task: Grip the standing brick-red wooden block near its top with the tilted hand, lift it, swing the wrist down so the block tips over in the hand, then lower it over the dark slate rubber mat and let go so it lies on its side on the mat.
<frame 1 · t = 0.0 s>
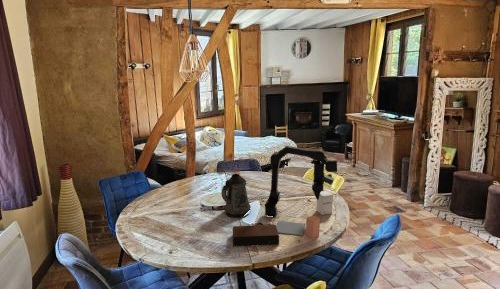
hand: (318, 196, 196), 15 cm above the table, tool pointing down, fingers open, 9 cm apart
supplement box: (324, 212, 210), on the table
beer stein: (236, 213, 210), on the table
rubber mat: (289, 228, 189), on the table
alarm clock: (255, 241, 177), on the table
brick-red block: (312, 235, 181), on the table
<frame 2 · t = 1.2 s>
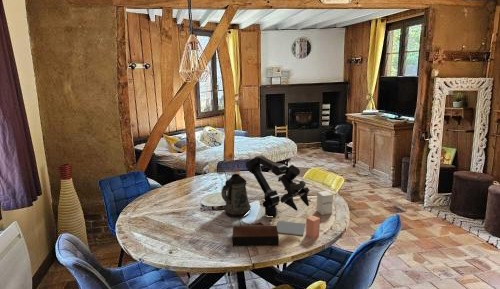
hand: (302, 208, 184), 13 cm above the table, tool tilted 45°, fingers open, 9 cm apart
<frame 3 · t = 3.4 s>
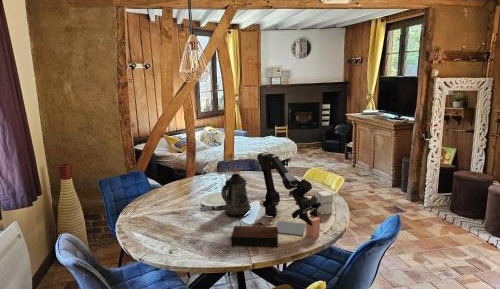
hand: (315, 224, 178), 7 cm above the table, tool tilted 45°, fingers closed on brick-red block, 5 cm apart
brick-red block: (312, 235, 181), on the table, touching gripper
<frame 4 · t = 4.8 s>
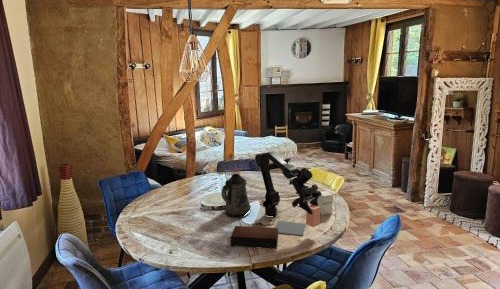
hand: (315, 212, 177), 13 cm above the table, tool tilted 45°, fingers closed on brick-red block, 5 cm apart
brick-red block: (312, 224, 180), point 6 cm above the table, touching gripper
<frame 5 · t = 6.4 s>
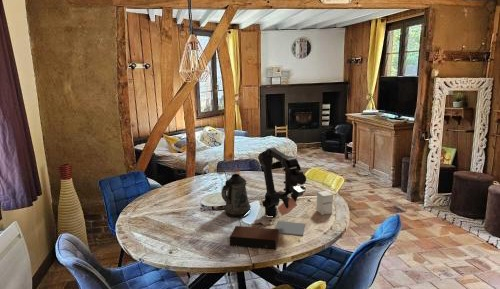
hand: (290, 206, 187), 13 cm above the table, tool pointing down, fingers closed on brick-red block, 5 cm apart
brick-red block: (282, 210, 192), point 9 cm above the table, tilted 44°, touching gripper
when the fingers open (8 cm above the table, at t = 8.1 s): brick-red block moves 2 cm and tips over, resting on rubber mat.
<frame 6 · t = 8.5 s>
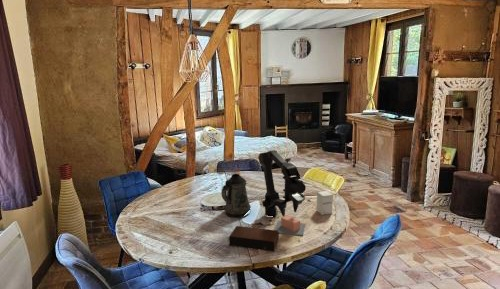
hand: (289, 214, 188), 8 cm above the table, tool pointing down, fingers open, 9 cm apart
brick-red block: (284, 220, 192), point 3 cm above the table, tilted 90°, touching rubber mat
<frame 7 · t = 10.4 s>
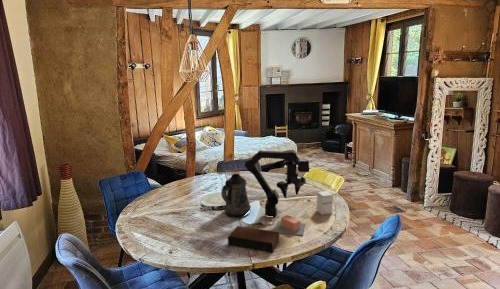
hand: (291, 196, 202), 13 cm above the table, tool pointing down, fingers open, 9 cm apart
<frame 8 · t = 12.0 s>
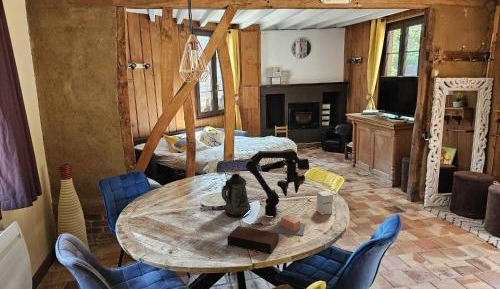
hand: (291, 194, 205), 13 cm above the table, tool pointing down, fingers open, 9 cm apart
at the end: brick-red block tilted 90°; brick-red block inside the target area (4.4 cm from its centre), point 3.1 cm above the table; the gripper is holding nothing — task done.
